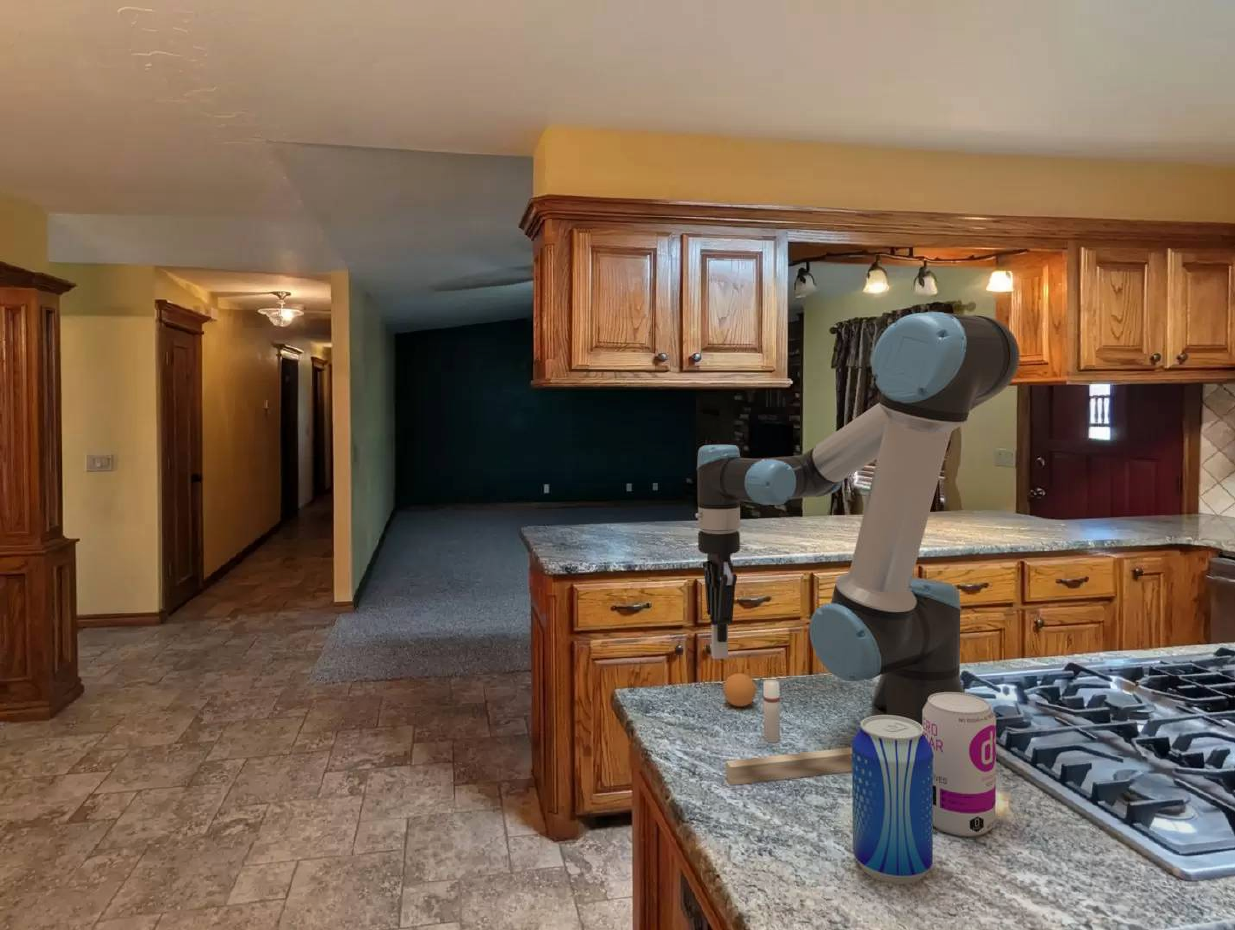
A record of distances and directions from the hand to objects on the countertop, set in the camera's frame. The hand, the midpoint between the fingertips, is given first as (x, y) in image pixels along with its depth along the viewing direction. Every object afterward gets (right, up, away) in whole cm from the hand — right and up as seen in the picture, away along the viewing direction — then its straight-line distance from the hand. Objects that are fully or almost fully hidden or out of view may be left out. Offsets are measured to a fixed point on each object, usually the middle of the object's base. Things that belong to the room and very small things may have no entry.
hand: (719, 657), depth 151 cm
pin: (+5, -7, -24) cm, 26 cm away
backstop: (+7, -8, -36) cm, 38 cm away
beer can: (+12, -9, -60) cm, 61 cm away
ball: (+2, -3, -10) cm, 11 cm away
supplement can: (+23, -9, -50) cm, 56 cm away
